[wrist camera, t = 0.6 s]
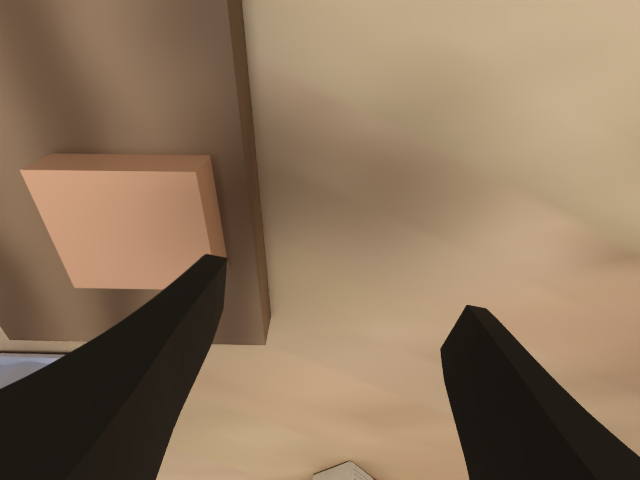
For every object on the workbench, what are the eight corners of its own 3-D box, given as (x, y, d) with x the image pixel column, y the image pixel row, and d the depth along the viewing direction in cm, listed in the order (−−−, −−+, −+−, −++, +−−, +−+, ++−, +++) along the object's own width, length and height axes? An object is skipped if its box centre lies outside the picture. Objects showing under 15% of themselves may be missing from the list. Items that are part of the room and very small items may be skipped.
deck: (37, 311, 24) (9, 339, 22) (-177, -72, 14) (-269, -88, 12) (271, 316, 24) (265, 345, 22) (234, -72, 14) (217, -88, 11)
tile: (97, 263, 19) (74, 287, 17) (53, 153, 16) (19, 169, 14) (228, 265, 19) (218, 290, 17) (209, 155, 16) (195, 172, 14)
